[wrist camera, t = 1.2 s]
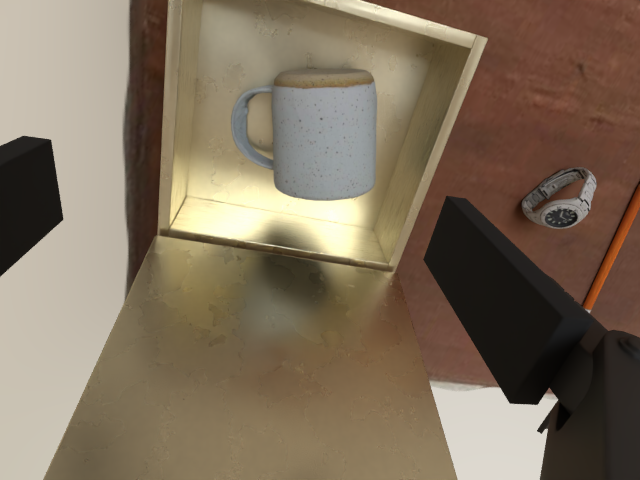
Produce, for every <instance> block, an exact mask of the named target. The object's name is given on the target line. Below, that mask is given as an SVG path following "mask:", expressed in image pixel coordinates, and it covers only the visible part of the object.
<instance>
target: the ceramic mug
mask: <svg viewBox="0 0 640 480" xmlns="http://www.w3.org/2000/svg"><path fill="white" fill-rule="evenodd" d="M260 93H272V123H273V160H272V159H269V158H267V157H265V156H263V155H261V154H259V153H258V152H257V151H256V150H255V149H253V147H252V146H251V145H250V143H249V141H248V138H247V134H246V117H247V113H248V108H247V104H248V102H249V100H250V99H252V98H253V97H254V96H255V95H256V94H260ZM376 119H377V94H376V87H375V81H374V78H373V76H372V74H370V73H369V72H368V71H366V70H362V69H333V68H328V69H301V70H289V71H283V72H281V73H280V74H279V75H278V76H277V77H276V78H275V79H274V85H266V86H261V87H257V88H253V89H251V90H248V91H247V92H245V93H243V94H242V95H241V96H240V97H239V99H238V100H237V101H236V103H235V105H234V107H233V110H232V115H231V131H232V136H233V140H234V142H235V144H236V146H237V148H238V149H239V150H240V152H241V153H242V154H243V155H244V156H245V157H246V158H248V159H249V160H250V161H252V162H253V163H255V164H257V165H259V166H262V167H264V168H268V169H270V170H274V184H275V188H276V189H277V190H278V191H280V192H282V193H283V194H286V195H288V196H291V197H294V198H300V199H305V200H313V201H335V200H342V199H350V198H355V197H359V196H361V195H364V194H365V193H367V192H369V191H370V190H371V189H372V188H373V187H374V185H375V180H376Z"/></svg>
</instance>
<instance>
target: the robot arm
mask: <svg viewBox="0 0 640 480" xmlns="http://www.w3.org/2000/svg"><path fill="white" fill-rule="evenodd" d="M62 220H63V214H62V207H61V201H60V194H59V188H58V182H57V175H56V169H55V162H54V156H53V149H52V143H51V140H49V139H43V138H35V137H28V136H22V137H20V138H17V139H15V140H13V141H10V142H8V143H6V144H4V145H1V146H0V276H1V275H2V274H4V273H5V272H6V271H7V270H8V269H9V268H10V267H11V266H12V265H13V264H14V263H16V262H17V261H18V260H19V259H20V258H21V257H22V256H23V255H25V254H26V253H27V252H28V251H29V250H30V249H31V248H32V247H33V246H35V245H36V244H37V243H38V242H39V241H40V240H41V239H42V238H43V237H45V236H46V235H47V234H48V233H49V232H50V231H51V230H52V229H53V228H54V227H56V226H57V225H58V224H59V223H60V222H61V221H62ZM423 260H424V261H425V263H426V265H427V266H428V268H429V270H430V271H431V273H432V275H433V276H434V278H435V280H436V281H437V283H438V285H439V286H440V288H441V290H442V291H443V293H444V295H445V296H446V298H447V300H448V301H449V303H450V305H451V306H452V308H453V310H454V311H455V313H456V315H457V316H458V318H459V320H460V321H461V323H462V325H463V326H464V328H465V330H466V331H467V333H468V335H469V336H470V338H471V340H472V341H473V343H474V345H475V346H476V348H477V350H478V351H479V353H480V355H481V356H482V358H483V360H484V361H485V363H486V365H487V366H488V368H489V370H490V371H491V373H492V375H493V376H494V378H495V380H496V381H497V383H498V385H499V386H500V388H501V389H502V391H503V393H504V395H505V396H506V398H507V399H508V401H509V403H512V404H532V405H533V404H534V405H537V404H538V403H539V402H540V400H541V399H542V397H543V396H544V394H545V393H546V391H547V390H548V388H550V389H551V390H552V392H553V393H554V394H555V396H556V397H557V398H558V401H557V403H556V404H555V405H554V407H553V408H552V410H551V411H550V413H549V414H548V415H547V417H546V418H545V420H544V421H543V423H542V424H541V425H540V427H539V428H538V430H537V431H538V432H540V433H541V434H542V432H543V431H544V430H545V429H548V433H547V439H546V445H545V451H544V458H543V464H542V470H541V476H540V480H640V338H639V337H637V336H634V335H632V334H629V333H626V332H623V331H616V330H611V331H608V330H607V329H605V328H604V327H603V326H602V325H601V324H600V323H599V322H598V321H597V320H596V319H595V318H594V317H593V316H592V315H591V314H590V313H588V312H587V311H586V310H585V309H584V308H583V307H582V306H581V305H580V304H579V303H578V302H576V301H574V298H573V297H572V296H570V295H569V294H568V293H567V292H564V289H563V288H562V287H561V286H560V285H559V284H558V283H557V282H556V281H555V280H553V279H552V278H551V277H549V276H548V275H546V274H545V273H544V272H543V271H541V270H540V269H539V268H538V267H537V266H536V265H535V264H534V263H533V262H532V261H531V260H530V259H529V258H528V257H527V256H526V255H525V254H524V253H523V252H521V251H520V250H519V249H518V248H517V247H516V246H515V245H514V244H513V243H512V242H511V241H510V240H509V239H508V238H507V237H506V236H505V235H504V234H503V233H501V232H500V231H499V230H498V229H497V228H496V227H495V226H494V225H493V224H492V223H491V222H490V221H489V220H488V219H487V218H486V217H485V216H484V215H483V214H482V213H480V212H479V211H478V210H477V209H476V208H475V207H474V206H473V205H472V204H471V203H470V202H469V201H468V200H467V199H465V198H458V197H451V196H446V199H445V202H444V204H443V207H442V210H441V213H440V215H439V218H438V221H437V224H436V226H435V229H434V232H433V235H432V237H431V240H430V243H429V246H428V248H427V251H426V254H425V257H424V259H423Z"/></svg>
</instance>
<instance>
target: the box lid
mask: <svg viewBox="0 0 640 480" xmlns="http://www.w3.org/2000/svg"><path fill="white" fill-rule="evenodd" d="M43 480H457V476H456V473H455V469H454V466H453V462H452V459H451V455H450V452H449V448H448V445H447V442H446V438H445V435H444V431H443V428H442V424H441V421H440V417H439V414H438V410H437V407H436V404H435V400H434V397H433V394H432V390H431V386H430V383H429V379H428V376H427V372H426V369H425V366H424V362H423V359H422V355H421V352H420V348H419V345H418V341H417V338H416V334H415V331H414V327H413V324H412V321H411V317H410V314H409V310H408V307H407V303H406V300H405V296H404V293H403V289H402V286H401V283H400V279H399V276H398V273H392V272H386V271H379V270H373V269H367V268H360V267H354V266H348V265H341V264H335V263H329V262H322V261H316V260H309V259H303V258H297V257H290V256H284V255H278V254H271V253H265V252H259V251H252V250H246V249H240V248H233V247H227V246H221V245H214V244H208V243H202V242H195V241H189V240H183V239H176V238H170V237H163V236H157V235H155V237H154V239H153V241H152V244H151V246H150V248H149V250H148V252H147V254H146V257H145V259H144V261H143V263H142V265H141V268H140V270H139V272H138V274H137V276H136V278H135V281H134V283H133V285H132V287H131V289H130V291H129V294H128V296H127V298H126V300H125V302H124V305H123V307H122V309H121V311H120V313H119V315H118V318H117V320H116V322H115V324H114V327H113V329H112V331H111V333H110V335H109V337H108V339H107V342H106V344H105V346H104V348H103V350H102V353H101V355H100V357H99V359H98V361H97V364H96V366H95V368H94V370H93V372H92V374H91V376H90V379H89V381H88V383H87V385H86V387H85V390H84V392H83V394H82V396H81V398H80V401H79V403H78V405H77V407H76V409H75V411H74V414H73V416H72V418H71V420H70V422H69V425H68V427H67V429H66V431H65V433H64V435H63V438H62V440H61V442H60V444H59V446H58V449H57V451H56V453H55V455H54V457H53V459H52V462H51V464H50V466H49V468H48V470H47V472H46V475H45V477H44V479H43Z"/></svg>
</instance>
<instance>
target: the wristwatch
mask: <svg viewBox="0 0 640 480" xmlns="http://www.w3.org/2000/svg"><path fill="white" fill-rule="evenodd" d="M580 179H585V183H584V184H583V186H582V188H581V191H580V193H579V195H578V197H577V198H576V197H575V198H572V199H567V200H556V201H552V202H549V203H547V204H545V205H544V206H543V207H542V208H540V209H538V210H536V211H535V212H534V211H532V209H533V208H534V207H535V206H536V205H537V204H538V203H539V202H540V201H542V200H545V199H547V200H548V199H550V196H551V195H552V194H554V193H555V192H557V191H559V190H560V189H562V188H564V187H565V186H567V185H569V184H571V183H572V182H574V181H576V180H580ZM596 184H597V183H596V179H595V177H594V176H593V174H592V173H591V172H590V171H589V170H587V169H586V168H583V167H576V168H569V169H567V170H561V171H559V172H558V173H556V174H554V175H552V176H551V177H549V178H547V179H545V180H544V181H543V182H542V183H541V184H540V185H539V186H538V187H537V188H535V189H534V190H533V191H532V192H530V193H529V194H528V195H527V196H526V197H525V198H524V200H523V201H522V210H523V212H524V214H525V215H526V216H527V217H528V219H530V220H531V221H533V222H535V223H537V224H540V225H544V226H546V227H550V228H555V229H563V228H568V227H569V228H570V227H572V226H574V225H575V224H577V223H578V222H579V221H580V220H582V219H583V218H584V217H585V216H586V215H587V214H588V211H590V207H591V200H592V198H593V192H594V191H595V189H596Z"/></svg>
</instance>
